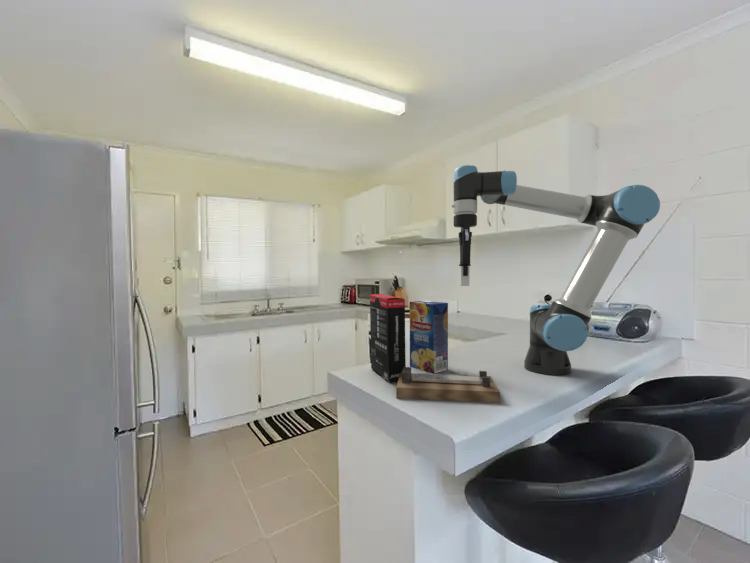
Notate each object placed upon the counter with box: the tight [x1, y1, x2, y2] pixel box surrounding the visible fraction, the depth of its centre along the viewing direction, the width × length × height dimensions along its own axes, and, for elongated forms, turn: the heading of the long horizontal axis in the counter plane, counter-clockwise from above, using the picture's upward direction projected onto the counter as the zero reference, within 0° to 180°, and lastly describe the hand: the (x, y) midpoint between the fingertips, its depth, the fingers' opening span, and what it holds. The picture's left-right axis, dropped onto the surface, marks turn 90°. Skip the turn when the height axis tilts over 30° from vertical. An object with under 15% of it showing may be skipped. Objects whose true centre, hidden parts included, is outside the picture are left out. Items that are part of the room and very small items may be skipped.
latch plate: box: [395, 366, 501, 404], centre depth 104 cm, size 28×14×6 cm, turn 82°
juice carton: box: [409, 300, 449, 374], centre depth 128 cm, size 12×8×24 cm, turn 38°
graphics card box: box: [369, 293, 407, 383], centre depth 120 cm, size 17×7×27 cm, turn 21°
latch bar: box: [412, 373, 482, 385], centre depth 104 cm, size 21×4×1 cm, turn 82°
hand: (464, 285), depth 118 cm, fingers closed
